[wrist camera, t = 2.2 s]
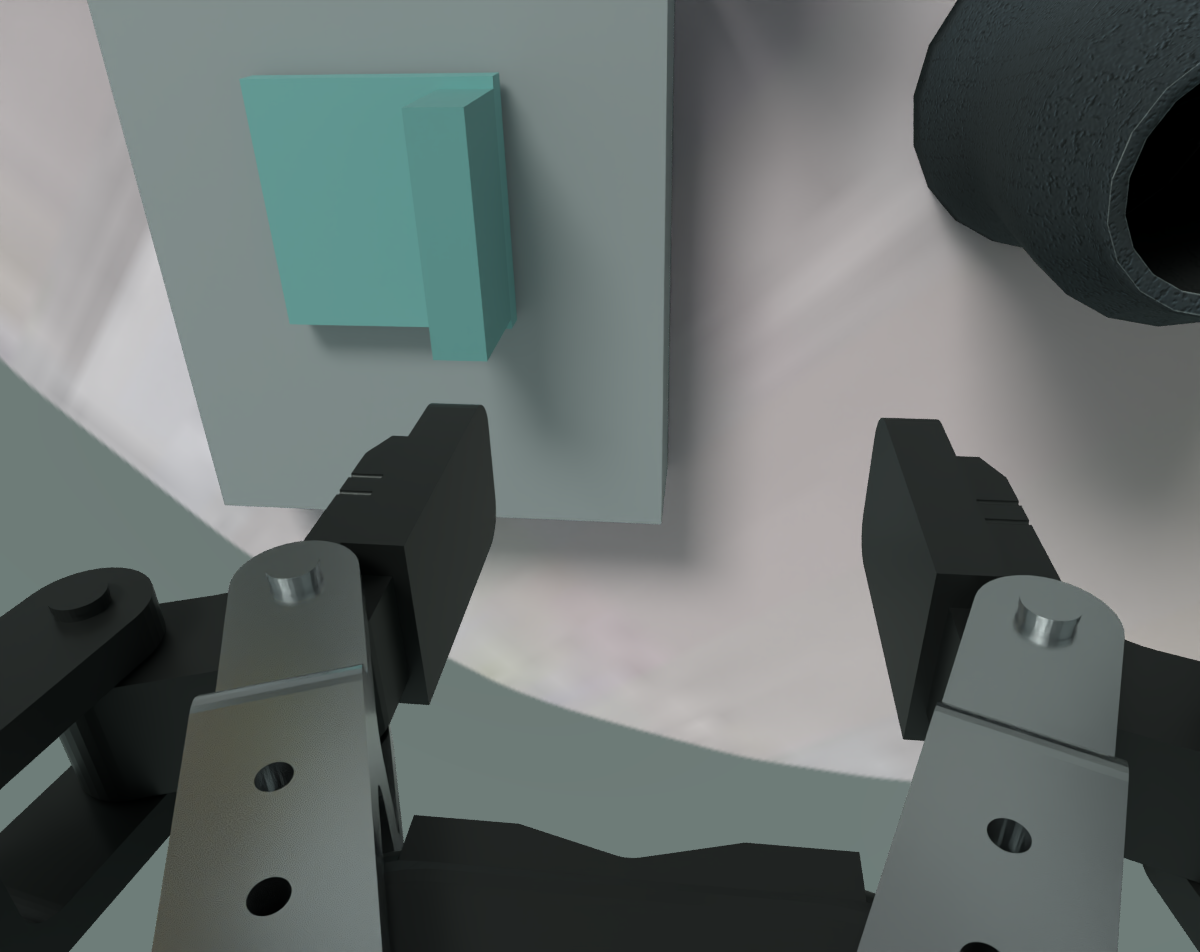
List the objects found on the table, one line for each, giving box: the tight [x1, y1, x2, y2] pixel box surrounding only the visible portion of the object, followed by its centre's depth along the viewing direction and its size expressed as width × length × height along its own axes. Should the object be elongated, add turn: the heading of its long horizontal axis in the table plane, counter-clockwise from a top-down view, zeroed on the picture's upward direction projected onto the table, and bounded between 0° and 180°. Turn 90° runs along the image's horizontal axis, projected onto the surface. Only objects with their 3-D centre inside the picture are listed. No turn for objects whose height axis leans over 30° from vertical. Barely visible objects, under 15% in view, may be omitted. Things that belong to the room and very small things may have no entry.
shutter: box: [239, 72, 517, 362], centre depth 25 cm, size 7×7×4 cm
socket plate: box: [87, 0, 675, 524], centre depth 30 cm, size 16×18×4 cm
